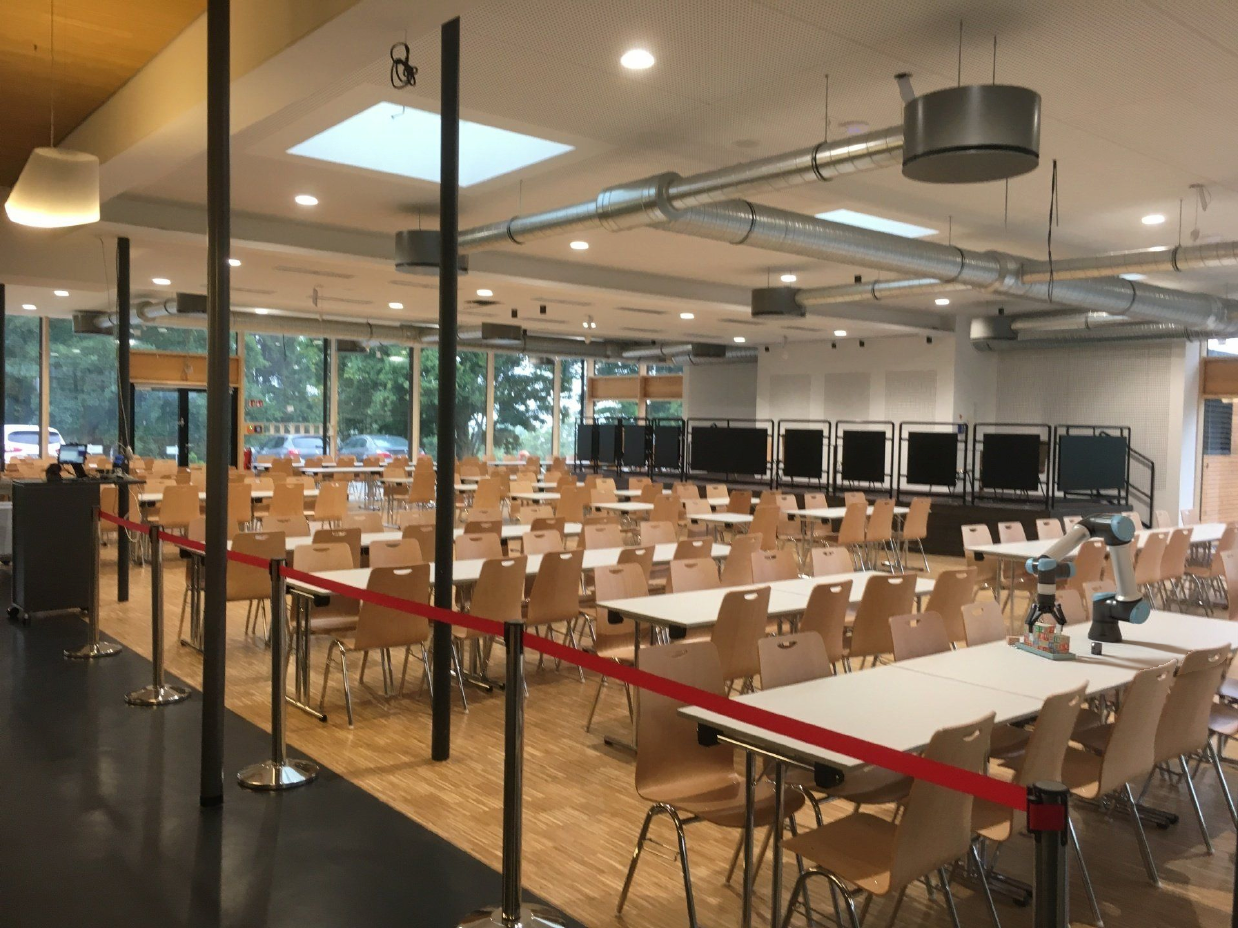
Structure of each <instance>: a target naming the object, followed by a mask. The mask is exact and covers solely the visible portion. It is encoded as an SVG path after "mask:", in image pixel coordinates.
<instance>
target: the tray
mask: <svg viewBox="0 0 1238 928" xmlns="http://www.w3.org/2000/svg"><path fill="white" fill-rule="evenodd" d="M1015 647H1017V648H1018V649H1017V648H1016V649H1017V650H1020V649H1021V650H1020V651H1023V650H1024V651H1023V652H1026V653H1030V654H1032V655H1036V656H1038V657H1041V658H1045V659H1047V660H1051V661H1073V660H1074V661H1075V660H1076V657H1077V656H1076V655H1077V654H1076V653H1073V652H1071V651H1069V654H1051V653H1048V652H1045V651H1042V650H1039V649H1036V648H1032V647H1029V646H1026V645H1024V641H1020V642H1015V646H1014V648H1015Z"/></svg>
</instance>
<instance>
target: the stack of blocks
mask: <svg viewBox="0 0 1238 928" xmlns="http://www.w3.org/2000/svg"><path fill="white" fill-rule="evenodd" d="M1034 626H1035V641H1032V640H1030V633H1029V632H1028V631H1029V626H1028V625H1027V624H1025V621H1024V622H1023V642H1024V645H1026V646H1029V647H1032V648H1036V649H1039V650H1042V651H1045V652H1048V653H1051V654H1069V652H1070V643H1071V636H1070V635H1066V634H1062V633H1061V634H1059V633H1056V632H1055V625H1052V624H1048V623H1044V622H1039V621H1037V622H1036V623H1035V624H1034Z"/></svg>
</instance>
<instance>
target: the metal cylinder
mask: <svg viewBox="0 0 1238 928" xmlns="http://www.w3.org/2000/svg"><path fill="white" fill-rule="evenodd" d="M1102 651H1103V643H1102V642H1100V641H1092V642H1091V645H1090V654H1091V655H1092V656H1093V655H1094V656H1102V655H1103V652H1102Z"/></svg>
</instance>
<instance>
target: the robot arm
mask: <svg viewBox="0 0 1238 928" xmlns="http://www.w3.org/2000/svg"><path fill="white" fill-rule="evenodd" d="M1135 533H1136V526H1135V522H1134V521H1133V520H1132V518H1130V517H1129V516H1126V515H1122V514H1110V513H1100V512H1098V513H1092V514H1090V515H1088V516H1086V517H1084V518H1082V519H1080V520H1079V521H1077V522H1076V523H1074V524H1073V525H1072V527H1071V529H1070V531H1068V532H1067V533H1066V534H1065V535H1063V536H1062V537H1061V538H1060V539H1058V540H1057V541H1056V542H1055V543H1054V544H1053V545H1051V546H1050V547H1049V548H1047V549H1046V550H1045V551H1044V552H1043V553H1041V554H1040V555H1039V556H1038V557H1031V558H1029V559H1027V560H1026V562H1025V569H1026V571H1027V572H1028V573H1029V574H1031V575H1034V576H1037V595H1036V598H1037V603H1031V605H1030V609H1029V611H1028V613H1027V616H1026V618H1025V620H1024V622H1025V624H1027V625H1028V626H1029V631H1028V632H1029V633H1030V640H1032V641H1035V626H1034V624H1035V623H1036V622H1038V620H1039V619H1040V617H1041V616H1043V615H1046V614H1047V615H1048V614H1050V615H1051V616H1052V617H1053V619H1054V621H1055V622H1056V624H1055V633H1059V634H1062V633H1063V631H1064V630H1063V629H1064V626H1065V625H1067V624H1068V620H1067V619H1066V616H1065V613H1064V611H1063V610H1062V604H1061V603H1058V602H1056V594H1055V593H1056V591H1057V590H1056V589H1057V580H1065V579H1066V580H1068V579H1071V578H1074V577H1075V576H1076V573H1077V567H1076V565H1075V564H1074V563H1073V562H1071V561H1062V560H1063V559H1065V558H1066V556H1067V557H1068V555H1069V554H1070V553H1072V552H1073V551H1074V550H1075V549H1076V548H1078V547H1079V546H1080V545H1081V544H1082V543H1085V542H1088V541H1090V540H1091V539H1094V538H1095V539H1096V538H1098V539H1100V538H1101V539H1103V543H1104V545H1105V546H1106V547H1108V549H1109V555H1110V561H1111V564H1112V570H1113V575H1114V580H1115V581H1114V582H1115V585H1116V589H1117V590H1116V591H1117V592H1112V591H1111V592H1096V593H1094V594H1093V598H1092V617H1091V621H1092V622H1091V624H1090V628H1089V631H1088V633H1087V639H1089V640H1092V641H1096V642H1104V643H1105V642H1107V643H1120V642H1122V641H1123V635H1122V632H1121V629H1120V626H1119V624H1120V623H1119V622H1124V623H1129V624H1132V625H1135V624H1136V625H1142V624H1144V623H1145V622H1146V621H1147V620H1148V619H1149V616H1150V614H1151V610H1152V609H1151V604H1150V602H1148V601H1147V600H1145V599H1144V597H1143V593H1142V592H1141V591H1139V590H1138V586H1137V579H1136V575H1135V569H1134V564H1133V559H1132V555H1131V554H1132V553H1131V549H1130V544H1131V543H1132V542H1133V541H1132V540H1133V539H1134V538H1135Z"/></svg>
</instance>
